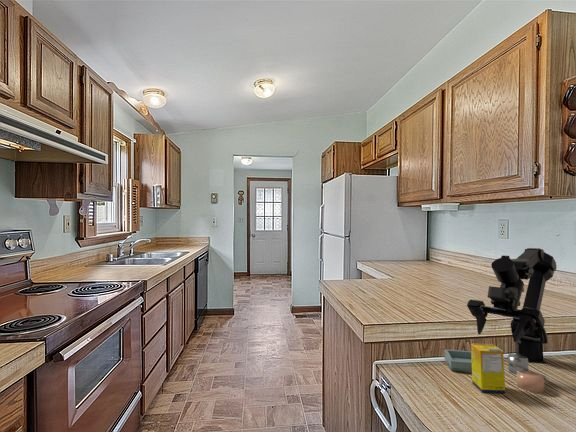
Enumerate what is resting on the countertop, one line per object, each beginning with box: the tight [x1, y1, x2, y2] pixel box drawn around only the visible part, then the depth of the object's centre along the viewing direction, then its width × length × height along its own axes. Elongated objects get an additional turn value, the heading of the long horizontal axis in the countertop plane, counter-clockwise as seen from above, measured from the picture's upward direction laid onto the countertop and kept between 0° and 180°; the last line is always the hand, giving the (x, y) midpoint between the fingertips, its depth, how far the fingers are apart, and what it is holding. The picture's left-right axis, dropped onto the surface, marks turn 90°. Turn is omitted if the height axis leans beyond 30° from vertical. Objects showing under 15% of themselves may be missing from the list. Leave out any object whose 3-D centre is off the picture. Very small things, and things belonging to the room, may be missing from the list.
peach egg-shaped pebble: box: [516, 370, 545, 394], centre depth 90 cm, size 6×6×4 cm
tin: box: [507, 353, 530, 376], centre depth 101 cm, size 5×5×4 cm
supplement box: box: [470, 343, 506, 394], centre depth 90 cm, size 6×6×11 cm
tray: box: [444, 348, 472, 373], centre depth 105 cm, size 11×11×3 cm
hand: (496, 337), depth 95 cm, fingers open, 9 cm apart
